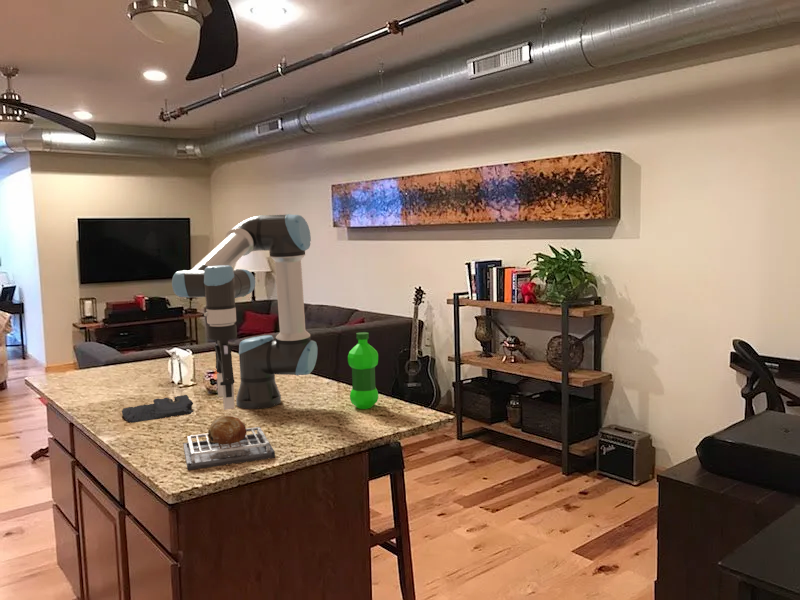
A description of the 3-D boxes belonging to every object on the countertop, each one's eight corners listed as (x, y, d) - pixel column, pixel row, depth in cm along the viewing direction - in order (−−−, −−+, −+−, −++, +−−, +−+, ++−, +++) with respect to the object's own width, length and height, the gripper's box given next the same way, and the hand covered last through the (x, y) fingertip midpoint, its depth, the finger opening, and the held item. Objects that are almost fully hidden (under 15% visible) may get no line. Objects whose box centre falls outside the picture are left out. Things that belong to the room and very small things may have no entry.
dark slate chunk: (119, 414, 223) (118, 400, 223) (186, 404, 234) (185, 391, 234) (127, 425, 210) (126, 410, 210) (197, 414, 221) (196, 400, 221)
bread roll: (207, 450, 182) (194, 427, 179) (236, 427, 188) (224, 404, 185) (227, 458, 175) (214, 435, 172) (256, 433, 181) (244, 410, 178)
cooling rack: (183, 448, 185) (182, 435, 184) (263, 438, 193) (263, 425, 192) (187, 470, 168) (186, 455, 168) (275, 457, 176) (274, 443, 176)
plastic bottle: (379, 402, 230) (377, 330, 227) (379, 410, 219) (377, 335, 217) (350, 403, 229) (348, 331, 227) (348, 411, 219) (346, 336, 216)
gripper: (203, 318, 187) (207, 392, 189) (211, 332, 164) (216, 416, 166) (230, 316, 190) (234, 389, 192) (242, 329, 166) (247, 412, 169)
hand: (226, 402), depth 179 cm, fingers open, 13 cm apart
